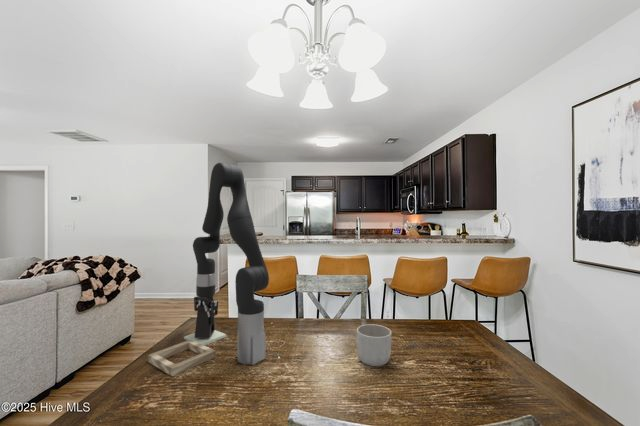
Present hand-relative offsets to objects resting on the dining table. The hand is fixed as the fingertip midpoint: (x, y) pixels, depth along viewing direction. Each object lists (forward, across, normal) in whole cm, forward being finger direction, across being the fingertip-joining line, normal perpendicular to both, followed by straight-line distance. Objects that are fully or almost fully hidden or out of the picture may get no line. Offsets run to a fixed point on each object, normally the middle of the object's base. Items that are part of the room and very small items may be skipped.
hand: (205, 323), depth 125 cm
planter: (+7, -66, -24) cm, 70 cm away
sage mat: (+6, 0, 0) cm, 6 cm away
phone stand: (+4, 0, 0) cm, 4 cm away
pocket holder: (+6, -10, +16) cm, 20 cm away
